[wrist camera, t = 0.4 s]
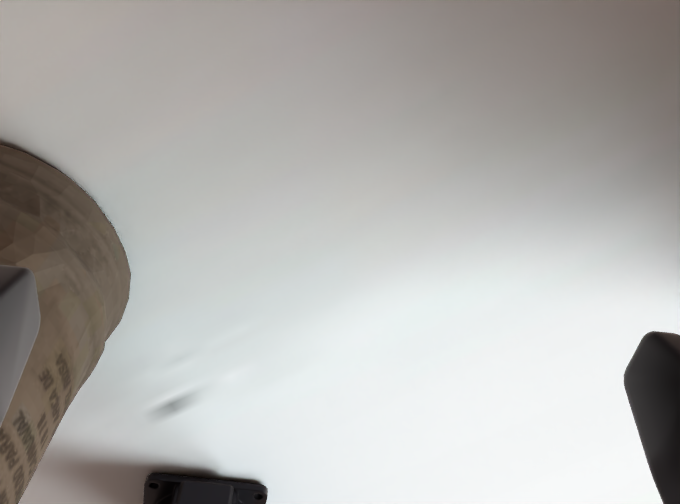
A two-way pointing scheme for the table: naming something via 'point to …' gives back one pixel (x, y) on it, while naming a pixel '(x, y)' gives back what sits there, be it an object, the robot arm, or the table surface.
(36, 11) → the table surface
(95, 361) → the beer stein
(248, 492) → the robot arm
